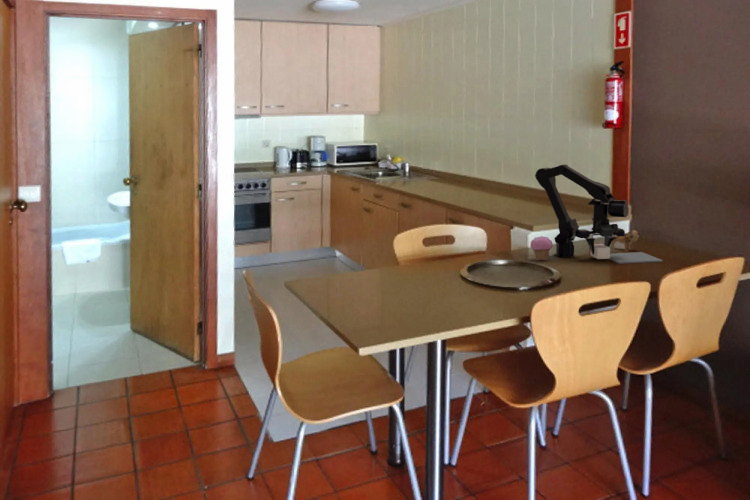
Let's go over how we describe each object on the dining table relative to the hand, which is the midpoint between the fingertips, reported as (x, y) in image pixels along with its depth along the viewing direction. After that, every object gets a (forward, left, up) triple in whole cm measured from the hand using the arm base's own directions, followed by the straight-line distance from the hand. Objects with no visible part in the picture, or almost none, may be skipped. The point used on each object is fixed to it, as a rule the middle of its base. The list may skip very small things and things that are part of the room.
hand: (599, 253), depth 274 cm
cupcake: (-23, +4, -3) cm, 24 cm away
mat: (+13, -1, -2) cm, 13 cm away
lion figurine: (+18, +19, -3) cm, 27 cm away
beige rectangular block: (0, 0, -1) cm, 1 cm away
